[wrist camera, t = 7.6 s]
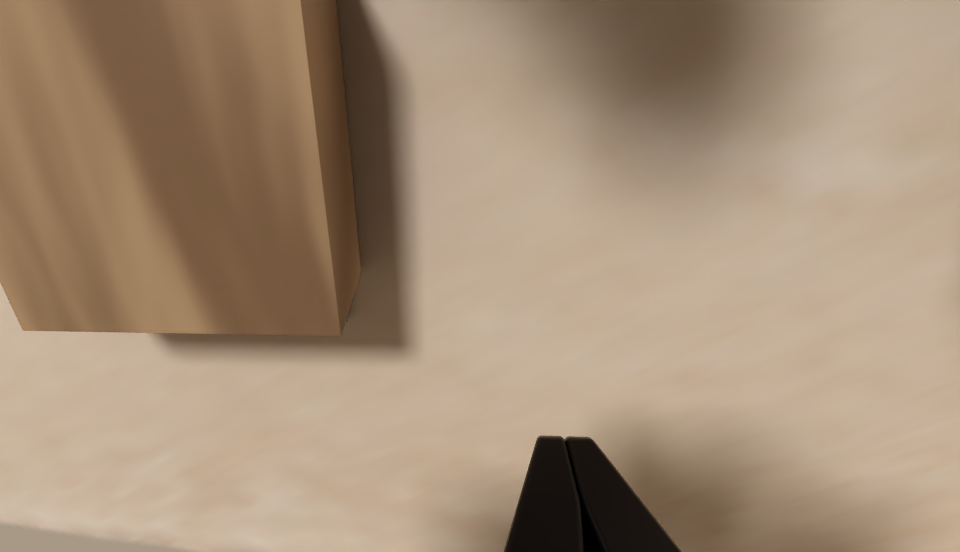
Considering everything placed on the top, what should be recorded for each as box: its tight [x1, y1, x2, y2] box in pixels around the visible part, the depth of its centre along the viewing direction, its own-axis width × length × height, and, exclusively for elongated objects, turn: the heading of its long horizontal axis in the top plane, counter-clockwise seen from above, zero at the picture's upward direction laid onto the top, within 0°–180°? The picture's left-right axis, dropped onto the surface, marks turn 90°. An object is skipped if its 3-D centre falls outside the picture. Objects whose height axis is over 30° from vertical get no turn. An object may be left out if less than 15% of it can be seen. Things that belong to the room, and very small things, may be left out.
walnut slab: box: [0, 0, 361, 336], centre depth 15 cm, size 4×10×9 cm
